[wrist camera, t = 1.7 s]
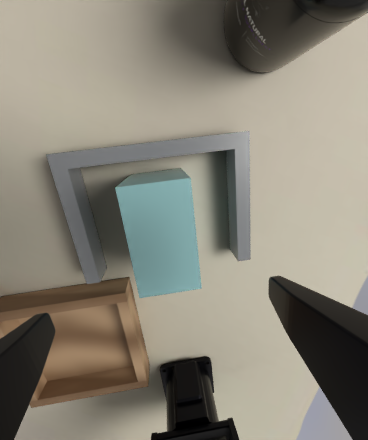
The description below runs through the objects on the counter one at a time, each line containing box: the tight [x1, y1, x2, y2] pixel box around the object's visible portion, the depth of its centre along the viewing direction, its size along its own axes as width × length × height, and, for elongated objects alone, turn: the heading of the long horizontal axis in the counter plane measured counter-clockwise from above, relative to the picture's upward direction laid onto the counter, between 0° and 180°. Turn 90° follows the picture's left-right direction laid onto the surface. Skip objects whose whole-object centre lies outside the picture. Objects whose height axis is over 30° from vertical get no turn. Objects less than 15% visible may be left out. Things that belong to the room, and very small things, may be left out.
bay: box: [46, 131, 250, 284], centre depth 19 cm, size 11×15×2 cm
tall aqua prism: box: [115, 168, 202, 298], centre depth 17 cm, size 9×4×7 cm, turn 6°
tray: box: [0, 277, 150, 408], centre depth 23 cm, size 13×13×3 cm
